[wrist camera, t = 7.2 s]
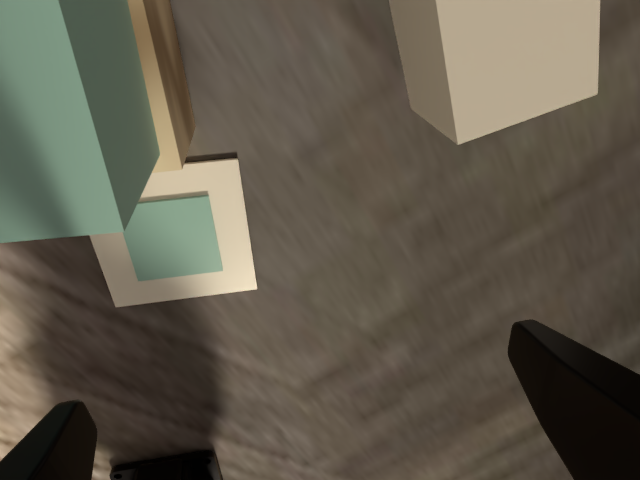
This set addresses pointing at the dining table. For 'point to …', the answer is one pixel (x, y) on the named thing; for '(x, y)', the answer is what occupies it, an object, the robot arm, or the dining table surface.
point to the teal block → (71, 119)
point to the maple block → (164, 80)
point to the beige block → (495, 60)
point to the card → (181, 238)
